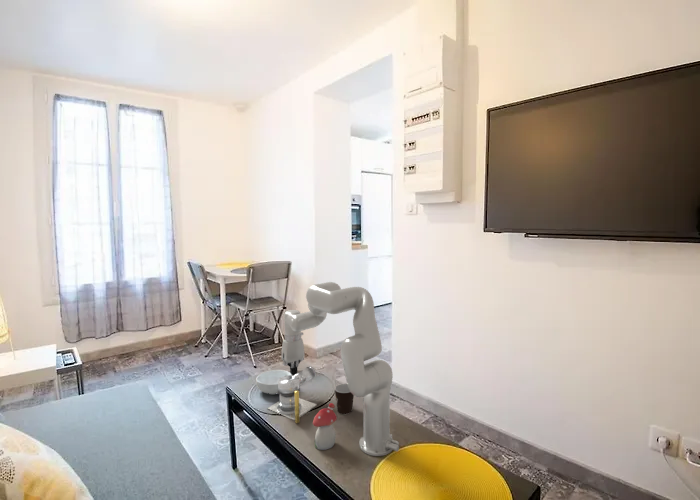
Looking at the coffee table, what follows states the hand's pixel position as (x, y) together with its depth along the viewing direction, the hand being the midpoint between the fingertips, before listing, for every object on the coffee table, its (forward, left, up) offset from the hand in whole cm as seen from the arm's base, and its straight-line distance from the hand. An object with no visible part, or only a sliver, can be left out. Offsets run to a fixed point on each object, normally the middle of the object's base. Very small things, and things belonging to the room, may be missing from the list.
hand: (293, 374), depth 171 cm
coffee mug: (-27, -3, -10) cm, 29 cm away
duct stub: (-9, +10, -10) cm, 17 cm away
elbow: (-7, +6, -1) cm, 10 cm away
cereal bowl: (+11, +2, -10) cm, 15 cm away
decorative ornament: (-35, +22, -10) cm, 43 cm away
